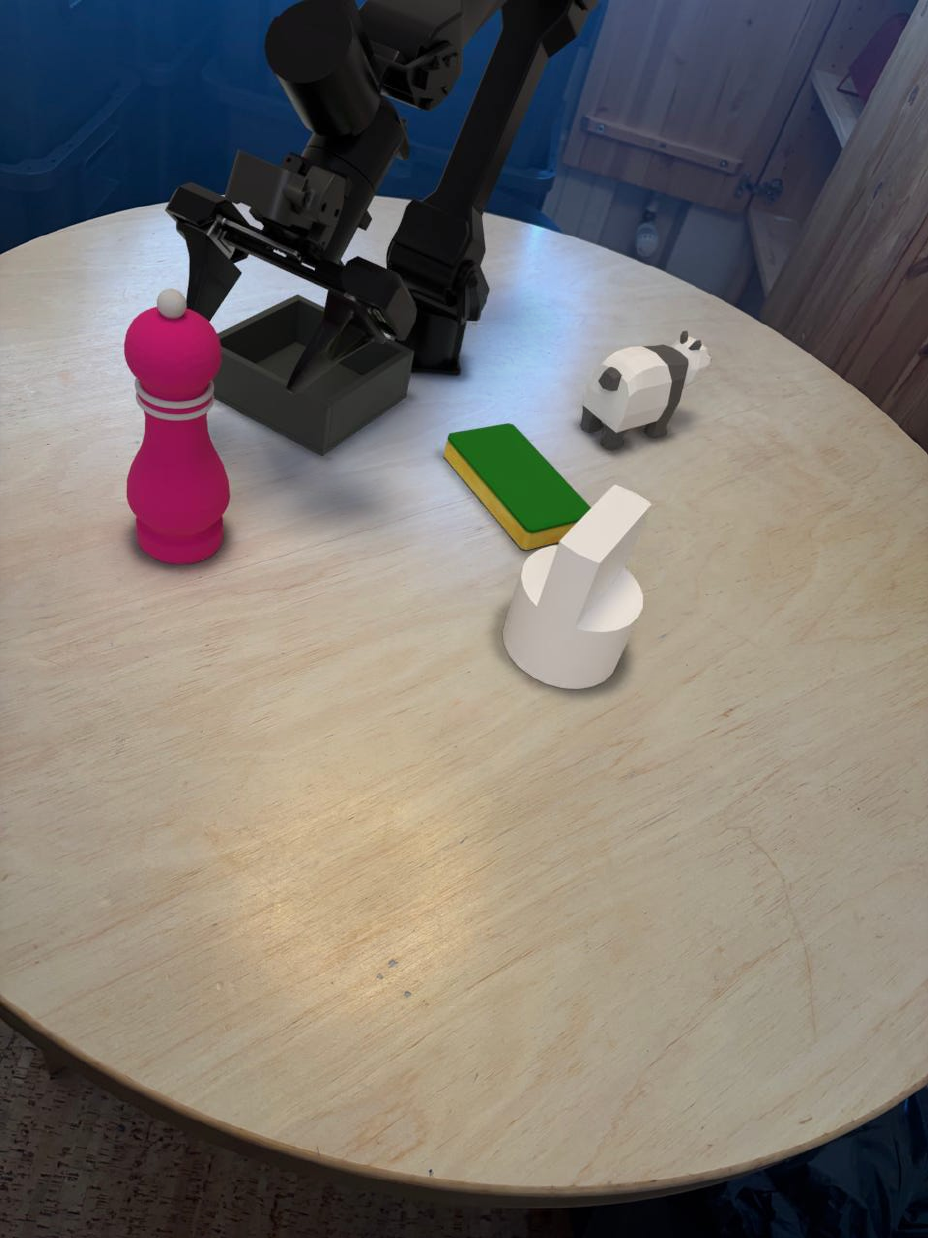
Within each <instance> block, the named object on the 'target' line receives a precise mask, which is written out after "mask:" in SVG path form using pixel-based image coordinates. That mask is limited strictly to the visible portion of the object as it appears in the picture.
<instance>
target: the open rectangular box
mask: <svg viewBox="0 0 928 1238" xmlns="http://www.w3.org/2000/svg"><path fill="white" fill-rule="evenodd" d="M324 308H325V306H323V305H321V304H318V303H317V302H315V301H312V300H310V299H308V298H306V297H304V296H302V295H300V294H294V295H293V296H291V297H288V298H287V299H284V300H282V301H281V302H279V303H277V304H275V305H272V306H270V307H268V308H266V309H264V310H262V311H260V312H258V313H256V314H254V315H252V316H250V317H249V318H246V319H244V320H242V321H240V322H238V323H236V324H233V325H231V326H230V327H228V328H225V329H224V330H221V331H220V332H216V333H217V335H218V337H219V340H220V344H221V353H222V360H221V365H220V368H219V370H218V372H217V374H216V376H215V377H214V378H213V380H212V381H213V384H214V392H213V395H214V400H217V401H218V402H221V403H223V404H224V405H226V406H228V407H230V408H231V409H234V410H235V411H237V412H239V413H241V414H243V415H245V416H247V417H249V418H250V419H252V420H254V421H256V422H258V423H260V424H262V425H264V426H265V427H267V428H269V429H272V430H273V431H274V432H276V433H278V434H280V435H282V436H284V437H286V438H288V439H289V440H292V441H293V442H295V443H297V444H299V445H301V446H303V447H304V448H307V450H310V451H312V452H314V453H316V454H318V455H319V456H321V457H322V456H324V455H325V454H327V453H328V452H330V451H331V450H333V449H334V448H336V447H337V446H339V445H340V444H342V442H344V441H345V440H347V439H348V438H350V437H351V436H353V435H354V434H356V433H357V432H359V431H360V430H361V429H363V428H364V427H366V426H367V425H368V424H370V423H371V422H373V421H374V420H376V419H377V418H379V417H380V416H382V414H384V413H386V412H387V411H388V410H390V409H391V408H393V407H395V406H396V405H398V403H400V402H401V401H403V400H404V399H406V398H407V397H408V396H407V395H408V390H409V383H410V378H411V373H412V371H411V367H412V361H413V356H414V351H413V350H411V349H409V348H407V347H405V346H403V345H401V344H399V343H397V342H395V341H393V340H390V338H388V337H386V338H387V339H386V341H385V342H384V344H380V343H378V342H375V341H374V342H371V343H369V344H368V345H366V346H364V347H363V348H361V349H359V350H358V351H356V352H354V353H352V354H351V355H349V356H347V357H346V358H344V359H343V360H341V361H340V362H338V363H337V364H335V365H334V366H333V367H331V368H330V369H329V370H327V371H326V372H325V373H323V374H322V375H321V376H320V377H318V378H317V379H316V380H314V381H313V382H312V383H310V384H309V385H308V386H306V387H305V388H304V389H302V390H301V391H300V392H298V393H297V394H295V395H293V394H291V393H290V392H289V391H288V390H287V389H286V386H287V383H288V381H289V379H290V376H291V374H292V372H293V369H294V367H295V366H296V364H297V362H298V360H299V359H300V357H301V355H302V353H303V352H304V350H305V348H306V346H307V345H308V343H309V341H310V339H311V338H312V336H313V334H314V332H315V331H316V329H317V327H318V325H319V324H320V322H321V320H322V317H323V313H324Z"/></svg>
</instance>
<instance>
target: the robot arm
mask: <svg viewBox="0 0 928 1238" xmlns="http://www.w3.org/2000/svg"><path fill="white" fill-rule="evenodd" d="M599 3H600V0H366V1H365V2H363V4H362V5H361V6H360V7H358V4H357V1H356V0H300V1H298V2H296V3H293V4H292V5H290V6H289V7H288V8H286V9H284V11H282V12H281V14H279V15H276V16H275V17H274V18H273V19H272V21H271V23H270V24H269V26H268V28H267V30H266V34H265V38H264V45H263V47H264V55H265V59H266V61H267V64H268V66H269V68H270V69H271V71H272V73H273V75H274V76H275V78H276V80H277V82H278V83H279V85H280V87H281V89H282V90H283V92H284V94H285V96H286V97H287V99H288V100H289V102H290V104H291V105H292V107H293V109H294V111H295V112H296V114H297V116H298V117H299V119H300V121H301V122H302V123H303V125H304V127H306V129H308V130H309V131H311V133H312V134H311V135H310V138H309V139H308V142H307V143H306V145H305V148H304V149H303V151H302V153H301V155H300V154H298V153H295V152H293V151H289V154H287V155H285V156H284V158H283V160H282V161H281V164H280V165H279V166H278V165H276V164H273V163H271V162H269V161H267V160H265V159H262V158H259V157H257V156H255V155H252V154H250V153H248V152H245V151H243V150H241V149H237V151H236V155H235V158H234V161H233V165H232V169H231V172H230V176H229V180H228V183H227V187H226V191H225V193H224V195H221V194H219V193H217V192H214V191H212V190H210V189H208V188H206V187H203V186H202V185H199V184H197V183H194V182H192V181H190V182H187V183H184V184H181V185H178V186H177V188H176V189H175V190H174V191H173V194H172V195H171V198H170V199H169V202H168V203H167V205H166V206H165V209H164V211H165V213H167V214H168V215H169V217H170V218H171V219H172V220H173V221H174V222H175V231H176V232H177V233H178V235H180V237H182V238H183V240H184V241H185V245H186V248H187V253H188V261H189V262H188V283H187V290H186V297H185V299H186V302H187V309H190V310H192V311H194V312H196V313H198V314H200V315H201V316H203V317H204V318H205V319H206V320H208V321H209V322H211V320H212V319H213V318H214V316H215V315H216V313H217V311H218V310H219V309H220V307H221V306H222V304H223V303H224V301H225V300H226V298H227V296H228V295H229V294H230V292H231V290H232V289H233V288H234V286H235V285H236V283H237V282H238V280H240V279H239V278H240V277H241V276H242V274H243V272H242V270H240V269H239V268H238V266H237V265H236V263H239V262H241V261H244V260H246V259H248V257H249V256H253V257H255V258H257V259H259V260H261V261H263V262H265V263H268V264H270V265H272V266H275V267H277V268H279V269H281V270H283V271H285V272H288V273H289V274H292V275H294V276H296V277H299V278H301V279H303V280H305V281H307V282H309V283H311V284H314V285H316V286H317V287H320V288H322V289H325V290H326V291H327V292H326V298H325V303H324V307H325V308H324V313H323V317H322V320H321V322H320V324H319V325H318V327H317V329H316V331H315V332H314V334H313V336H312V338H311V339H310V341H309V343H308V345H307V346H306V348H305V350H304V352H303V353H302V355H301V357H300V359H299V360H298V362H297V364H296V366H295V367H294V369H293V372H292V374H291V376H290V379H289V381H288V383H287V386H286V389H287V390H288V391H289V392H290V393H291V394H293V395H295V394H297V393H298V392H300V391H301V390H302V389H304V388H305V387H306V386H308V385H309V384H310V383H312V382H313V381H314V380H316V379H317V378H318V377H320V376H321V375H322V374H323V373H325V372H326V371H327V370H329V369H330V368H331V367H333V366H334V365H335V364H337V363H338V362H340V361H341V360H343V359H344V358H346V357H347V356H349V355H351V354H352V353H354V352H356V351H358V350H359V349H361V348H363V347H364V346H366V345H368V344H369V343H371V342H374V341H375V342H378V343H380V344H384V342H385V341H386V339H387V338H388V337H387V336H390V338H389V339H390V340H393V341H395V342H397V343H399V344H401V345H403V346H405V347H407V348H409V349H411V350H413V351H414V356H413V361H412V367H411V373H413V372H414V373H425V374H436V375H438V374H439V375H449V376H450V375H451V376H460V375H462V367H461V363H460V356H461V351H462V347H463V342H464V337H465V332H466V328H467V323H468V322H476V323H477V322H479V321H480V320H481V316H482V313H483V310H484V309H485V306H486V304H487V302H488V297H489V294H490V291H491V290H490V286H489V284H488V281H487V278H486V276H485V274H484V271H483V269H482V263H483V260H484V258H485V255H486V252H487V251H486V250H487V249H486V248H487V246H486V239H485V230H484V229H485V228H484V220H483V216H484V213H485V210H486V208H487V205H488V203H489V201H490V198H491V196H492V193H493V191H494V189H495V186H496V184H497V182H498V179H499V177H500V174H501V172H502V170H503V168H504V166H505V164H506V160H507V158H508V156H509V154H510V151H511V149H512V146H513V144H514V142H515V139H516V138H517V134H518V133H519V129H520V127H521V125H522V122H523V120H524V118H525V115H526V113H527V111H528V109H529V105H530V104H531V101H532V99H533V97H534V94H535V92H536V89H537V87H538V85H539V83H540V80H541V77H542V76H543V73H544V70H545V68H546V66H547V64H548V62H549V59H551V58H552V57H553V56H554V55H556V54H558V53H559V52H560V51H561V50H562V49H563V48H566V47H567V46H568V45H569V44H570V43H572V42H573V41H574V40H575V39H577V38H578V36H579V34H580V33H581V31H582V29H583V27H584V25H585V23H586V21H587V18H588V16H589V15H590V12H593V11H594V10H595V9H596V7H597V6H598V4H599ZM499 10H500V19H501V30H500V32H499V34H498V37H497V40H496V41H495V42H496V43H495V45H494V47H493V49H492V52H491V54H490V57H489V60H488V62H487V64H486V67H485V69H484V72H483V74H482V76H481V79H480V81H479V84H478V86H477V89H476V91H475V94H474V96H473V99H472V102H471V103H470V106H469V109H468V111H467V113H466V115H465V118H464V121H463V122H462V126H461V128H460V131H459V133H458V135H457V138H456V140H455V143H454V145H453V148H452V150H451V152H450V154H449V157H448V160H447V162H446V165H445V167H444V170H443V172H442V174H441V177H440V179H439V182H438V184H437V187H435V190H433V191H432V192H431V193H430V194H428V195H427V196H426V197H425V198H423V199H422V200H419V199H416V198H412V199H411V200H410V201H409V202H408V204H407V205H406V206H405V209H404V212H403V214H402V218H401V221H400V223H399V226H398V228H397V230H396V232H395V233H394V235H393V236H392V237H391V240H390V241H389V244H388V246H387V250H386V254H385V265H386V267H384V266H382V265H380V264H377V263H375V262H373V261H370V260H369V259H366V258H363V257H361V256H360V255H356V256H355V257H353V258H351V259H349V260H347V261H346V262H345V264H344V262H343V261H342V258H343V256H344V255H345V253H346V251H347V249H348V247H349V245H350V244H351V241H352V240H353V238H354V236H355V234H356V232H357V230H358V229H360V230H363V231H365V232H367V230H368V229H369V227H370V225H371V222H372V221H373V218H372V216H371V214H370V212H369V210H368V209H369V207H370V205H371V204H372V202H373V200H374V198H375V196H376V195H377V192H378V190H379V188H380V187H381V185H382V183H383V181H384V179H385V177H386V175H387V173H388V171H389V170H390V168H391V166H392V164H393V162H394V161H395V158H397V159H400V160H402V161H407V160H409V158H410V154H411V152H410V151H411V143H410V140H409V137H408V120H407V118H404V117H401V116H400V115H399V113H398V110H397V108H396V107H395V105H394V104H393V103H392V102H391V101H390V99H393V100H395V101H398V102H400V103H403V104H405V105H407V106H410V107H412V108H416V109H417V110H420V111H424V112H426V113H427V112H432V111H433V110H434V109H436V107H438V106H439V105H440V104H441V103H442V102H443V101H444V100H445V99H446V98H447V97H448V96H449V95H451V92H452V90H453V88H454V87H455V85H456V83H457V82H458V80H459V79H460V77H461V76H462V74H463V69H464V68H463V66H464V65H463V64H464V63H463V59H464V48H465V47H466V46H467V44H468V43H469V42H470V40H471V39H472V37H474V36H475V34H477V33H478V31H479V30H480V29H481V28H482V27H484V25H486V23H487V22H488V21H489V20H490V19H491V18H492V17H493V16H494V15H495V14H496V13H497V12H498V11H499ZM388 98H390V99H388ZM239 204H242V205H245V206H247V207H250V208H249V210H248V213H249V214H250V215H251V217H252V218H253V219H254V220H255V221H256V222H258V223H260V224H261V225H262V226H263V227H262V229H261V228H258V227H256V226H253V225H252V224H250V223H249V221H248V220H247V219H246V218H245V217H244V215H243V214H242V213H241V212H240V211H239V209H238V208H237V207H236V205H239ZM278 252H279V253H278ZM313 268H314V269H313ZM385 334H386V335H387V336H386V335H385Z"/></svg>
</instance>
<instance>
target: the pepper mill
mask: <svg viewBox="0 0 928 1238" xmlns="http://www.w3.org/2000/svg"><path fill="white" fill-rule="evenodd" d="M210 322H211V321H210ZM210 322H209V321H208V320H206V319H205V318H204V317H203V316H201V315H200V314H198V313H196V312H194V311H192V310H190V309H187V302H186V297H185V295H184V294H183V293H182V292H180V291H179V290H178V289H174V288H166V289H163V290H161V292H160V293H159V294H158V296H157V298H156V306H153V307H150V308H148V309H146V310H145V311H142V312H141V313H140V314H138V315H137V316H136V317H135V318H134V319H132V321H131V323H130V324H129V326H128V328H127V330H126V333H125V337H124V342H123V351H124V352H123V354H124V359H125V362H126V365H127V367H128V369H129V371H130V373H131V374H132V375H133V377H135V380H134V387H135V388H134V389H135V391H136V392H135V400H136V403H137V405H138V406H139V407H140V409H141V410H142V411H143V413H144V434H143V438H142V443H141V445H140V447H139V449H138V451H137V453H136V454H135V456H134V458H133V460H132V462H131V465H130V467H129V471H128V474H127V478H126V501H127V504H128V506H129V508H130V510H131V512H132V513H133V514H134V515H135V516H136V518H135V529H136V538H137V542H138V545H139V547H141V549H142V551H143V552H145V554H147V555H148V556H150V557H151V558H153V559H155V560H158V561H160V562H162V563H167V564H168V563H169V564H174V565H180V564H181V565H182V564H184V565H185V564H193V563H197V562H201V561H203V560H205V559H208V558H210V557H211V556H212V555H214V554H215V553H216V552H217V551H218V550H219V548H220V547H221V545H222V543H223V541H224V518H223V515H225V513H226V511H227V509H228V508H229V504H230V500H231V490H230V479H229V477H228V475H227V470H226V468H225V465H224V463H223V461H222V459H221V457H220V456H219V454H218V452H217V450H216V448H215V445H214V443H213V441H212V439H211V436H210V433H209V428H208V420H207V419H208V412H209V411H211V410H212V408H213V406H214V404H215V398H214V395H213V392H214V384H213V381H212V380H213V378H214V377H215V376H216V374H217V372H218V370H219V368H220V365H221V360H222V353H221V344H220V340H219V337H218V335H217V333H218V332H217V331H216V329H215V327H214V326H213V325H212V324H211V323H210Z"/></svg>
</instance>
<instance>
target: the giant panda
mask: <svg viewBox="0 0 928 1238" xmlns="http://www.w3.org/2000/svg"><path fill="white" fill-rule="evenodd" d="M712 360H713V357H712V356H711V355H710V354H709V352H708V347H706V346H705V345H704V344H703V343H702V341H701V339H698V340H697V339H696V338H693V337H692V336H690V335H689V332H688V330H683V331H681V334H680V336H679V338H678V339H676V341H675V342H673V343H672V344H671V345H670V346H669V345H665V344H662V343H661V344H657V345H641V346H629V347H626V348H622V349H618V350H617V351H615V352H613V353H612V354H610V355H609V356H608V357H607V358H606V359H604V360H603V361H601V363H600V364H598V365H597V366H596V367H594V369H593V371H592V372H591V374H590V376H589V379H588V380H587V383H586V385H585V387H584V392H583V393H584V395H583V398H582V408H581V409H582V411H581V412H582V414H581V419H580V425H579V426H580V428H581V430H583V431H585V432H586V433H593V432H594V433H595V432H598V431H600V430H603V429H604V432H603V435H602V438H601V441H600V444H601V445H602V447H603V448H604V449H606V450H608V451H613V450H618V449H621V448H623V447H625V445H626V442H625V440H624V437H625V434H626V433H628V431H629V430H630V429H634V428H637V427H642V426H644V428H643V434H645V435H646V436H647V437H649V438H651V439H657V438H661V437H664V436H667V435H668V430H667V427H668V424H669V422H670V420H671V418H672V417H673V415H674V413H675V411H676V409H677V408H678V406H679V404H680V401H681V399H682V394H683V390H684V389H685V388H687V387H689V386H691V385H693V384H695V383H696V382H698V381H700V380H702V379H703V378H705V376H706V373H707V371H708V368H709V366H710V364H711V363H712Z"/></svg>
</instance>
